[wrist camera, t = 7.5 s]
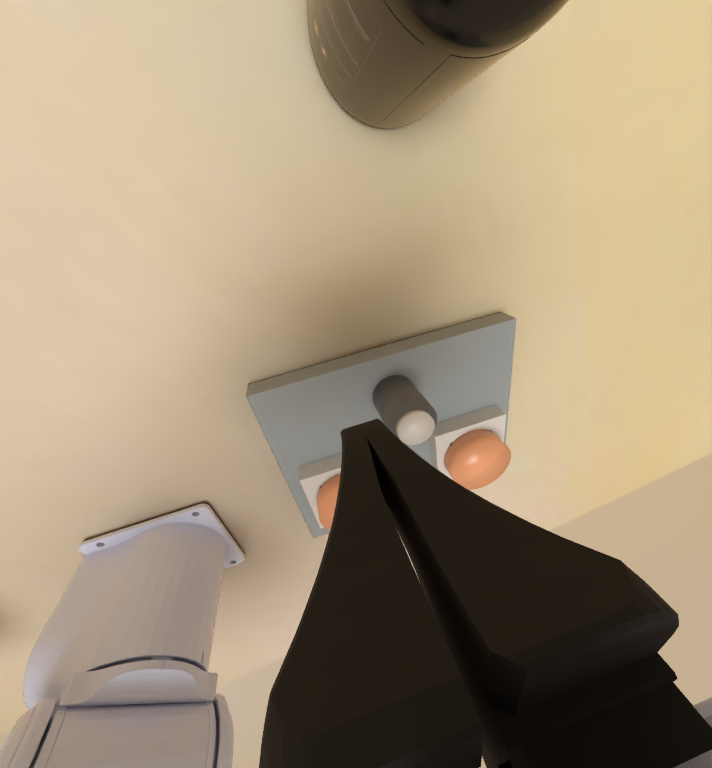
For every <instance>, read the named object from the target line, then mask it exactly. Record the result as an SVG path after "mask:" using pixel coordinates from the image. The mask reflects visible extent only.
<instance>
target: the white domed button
mask: <svg viewBox="0 0 712 768" xmlns="http://www.w3.org/2000/svg"><path fill="white" fill-rule="evenodd" d="M372 399H373V403H374V406H375V407H376V409H377V411H378V413H379V415H380V417H381V419H382V421H383V423H384V424H385V425H386V426H387V427H388V428H389V429H390V430H391V431H392V432H393V433H394V434H395V435H396V436H397V437H398V438H399V439H400V440H401V441H402V442H403V443H405V444H406V445H417V444H420V443H422V442H424V441H426V440H427V439H428V438H429V437H430V436H431V435H432V433H433V431H434V429H435V426H436V424H437V413H436V411H435V409H434V408H433V407H432V406H431V405H430V403H429V402H428V401H427V400H426V399H425V397H424V396H423V395H422V394H421V392H420V391H419V390H418V389H417V388H416V386H415V385H414V384H413V383H412V381H411V380H410V379H409V378H407V377H405V376H402V375H392V376H389V377H387V378H385V379H383V380H382V381H380V382H379V383H378V385H377V386H376V387H375V389H374V391H373V396H372Z"/></svg>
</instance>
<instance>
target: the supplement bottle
mask: <svg viewBox="0 0 712 768" xmlns="http://www.w3.org/2000/svg"><path fill="white" fill-rule="evenodd" d="M567 2H568V0H307V11H308V25H309V33H310V39H311V44H312V48H313V52H314V56H315V59H316V62H317V65H318V68H319V70H320V72H321V75H322V77H323V79H324V81H325V83H326V85H327V87H328V88H329V90H330V91H331V93H332V95H333V96H334V97H335V99H336V100H337V101H338V102H339V104H340V105H341V106H342V107H343V108H344V109H345V110H346V111H347V112H348V113H349V114H351V115H352V116H353V117H355V118H356V119H358V120H360V121H361V122H363V123H366V124H368V125H371V126H374V127H379V128H396V127H400V126H404V125H406V124H409V123H411V122H413V121H415V120H417V119H418V118H420V117H421V116H423V115H424V114H426V113H427V112H429V111H430V110H432V109H433V108H434V107H436V106H437V105H439V104H440V103H441V102H443V101H444V100H445V99H447V98H448V97H449V96H451V95H452V94H453V93H455V92H456V91H458V90H459V89H460V88H462V87H463V86H464V85H466V84H467V83H468V82H470V81H471V80H473V79H474V78H475V77H477V76H478V75H479V74H481V73H482V72H483V71H485V70H486V69H487V68H489V67H490V66H492V65H493V64H494V63H496V62H497V61H498V60H500V59H501V58H502V57H504V56H505V55H507V54H508V53H509V52H511V51H512V50H513V49H515V48H516V47H517V46H519V45H520V44H521V43H523V42H524V41H525V40H527V39H528V38H529V37H530V36H532V35H533V34H534V33H535V32H537V31H538V30H539V29H540V28H541V27H542V26H544V25H545V24H546V23H547V22H548V21H549V20H550V19H551V18H552V17H553V16H554V15H555V14H556V13H557V12H559V11H560V10H561V9H562V7H563V6H564V5H565V4H566V3H567Z"/></svg>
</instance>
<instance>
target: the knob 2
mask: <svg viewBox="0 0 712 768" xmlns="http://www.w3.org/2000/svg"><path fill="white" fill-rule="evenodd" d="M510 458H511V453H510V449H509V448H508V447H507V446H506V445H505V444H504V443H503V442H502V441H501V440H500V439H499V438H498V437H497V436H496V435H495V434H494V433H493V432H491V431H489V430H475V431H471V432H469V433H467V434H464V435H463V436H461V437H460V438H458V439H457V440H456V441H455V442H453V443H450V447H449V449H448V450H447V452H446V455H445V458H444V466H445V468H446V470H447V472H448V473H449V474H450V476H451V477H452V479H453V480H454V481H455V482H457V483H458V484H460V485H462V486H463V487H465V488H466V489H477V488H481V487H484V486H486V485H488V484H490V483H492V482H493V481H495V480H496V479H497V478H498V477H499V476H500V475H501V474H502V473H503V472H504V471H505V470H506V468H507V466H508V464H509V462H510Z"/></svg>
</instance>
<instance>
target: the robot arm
mask: <svg viewBox="0 0 712 768" xmlns="http://www.w3.org/2000/svg"><path fill="white" fill-rule="evenodd" d="M340 434H341V440H342V462H341V473H340V482H339V489H338V495H337V501H336V507H335V512H334V516H333V521H332V525H331V529H330V533H329V537H328V541H327V544H326V548H325V551H324V555H323V558H322V561H321V565H320V568H319V571H318V574H317V577H316V580H315V583H314V586H313V588H312V591H311V594H310V597H309V599H308V602H307V605H306V608H305V610H304V613H303V616H302V618H301V621H300V624H299V626H298V629H297V631H296V634H295V636H294V638H293V641H292V643H291V645H290V648H289V650H288V652H287V655H286V657H285V659H284V662H283V664H282V666H281V669H280V672H279V673H278V676H277V678H276V680H275V683H274V685H273V688H272V690H271V693H270V696H269V701H268V706H267V712H266V718H265V723H264V730H263V738H262V744H261V755H260V763H259V768H479V767H481V758H482V756H483V759H484V762H485V764H486V767H487V768H712V697H711V698H709V699H707V700H705V701H703V702H700V703H698V704H696V705H694V706H693V705H692V704H691V703H690V702H689V700H688V699H687V698H686V697H685V696H684V695H683V693H682V692H681V691H680V690H679V689H678V688H677V686H676V685H675V684H674V683H673V681H675V680H676V679H677V677H676V675H675V672H674V671H673V670H672V669H671V668H670V667H669V665H668V664H667V663H666V662H665V661H664V660H663V659H662V657H661V656H660V655H659V654H658V653H657V652H658V651H659V650H660V648H662V646H663V645H664V644H665V643H666V642H667V640H669V638H670V637H671V636H672V635H673V634H674V632H675V631H676V629H677V628H678V626H679V620H678V614H677V613H676V612H675V611H674V610H673V609H672V608H671V607H670V606H669V605H668V604H667V603H666V602H665V601H664V600H663V599H662V598H661V597H660V596H659V595H658V594H657V593H656V592H655V591H654V590H653V589H652V588H651V587H650V586H649V585H648V584H647V583H646V582H645V581H644V580H642V579H641V578H640V577H639V576H638V575H637V574H635V573H634V572H633V571H632V570H631V569H629V568H628V567H627V566H626V565H625V564H624V563H623V562H622V561H620V560H618V559H616V558H613V557H610V556H608V555H606V554H603V553H600V552H598V551H595V550H593V549H590V548H588V547H585V546H583V545H580V544H578V543H575V542H573V541H570V540H568V539H565V538H563V537H560V536H558V535H556V534H554V533H552V532H549V531H547V530H545V529H543V528H541V527H538V526H536V525H534V524H532V523H530V522H528V521H526V520H524V519H522V518H520V517H518V516H516V515H514V514H512V513H510V512H508V511H506V510H504V509H502V508H500V507H498V506H496V505H494V504H492V503H490V502H489V501H487V500H485V499H483V498H482V497H480V496H478V495H476V494H475V493H473V492H471V491H470V490H468V489H466V488H465V487H463V486H462V485H460V484H458V483H457V482H455V481H454V480H452V479H451V478H449V477H448V476H446V475H445V474H443V473H442V472H440V471H439V470H438V469H436V468H435V467H433V466H432V465H431V464H429V463H428V462H427V461H425V460H424V459H423V458H422V457H420V456H419V455H418V454H417V453H415V452H414V451H413V450H412V449H411V448H409V447H408V446H407V445H406V444H405V443H403V442H402V441H401V440H400V439H399V438H398V437H397V436H396V435H395V434H394V433H393V432H392V431H391V430H390V429H389V428H388V427H387V426H386V425H385V424H384V423H383V422H382V421H381V420H379V419H374V420H371V421H368V422H365V423H361V424H358V425H355V426H352V427H348V428H345V429H343V430H342V431H341V433H340ZM396 528H397V529H396ZM398 533H399V534H398ZM399 535H400V536H399ZM400 537H401V538H400ZM401 539H402V541H403V543H404V545H405V548H406V550H407V552H408V554H409V556H410V559H411V561H412V563H413V566H414V568H415V571H416V573H417V575H416V573H415V571H414V568H413V566H412V564H411V562H410V559H409V557H408V555H407V552H406V550H405V548H404V545H403V543H402V541H401ZM78 549H79V551H80V552H81V553H83V554H84V555H85V557H84V558H83V560H82V562H81V564H80V565H79V567H78V569H77V571H76V573H75V574H74V576H73V578H72V580H71V581H70V583H69V585H68V587H67V588H66V590H65V592H64V594H63V595H62V597H61V599H60V601H59V603H58V604H57V606H56V608H55V610H54V611H53V613H52V615H51V617H50V618H49V620H48V622H47V624H46V625H45V627H44V629H43V631H42V633H41V634H40V636H39V638H38V640H37V641H36V643H35V645H34V648H33V650H32V652H31V655H30V657H29V660H28V664H27V667H26V671H25V677H24V684H23V696H24V701H25V704H26V707H27V709H28V711H27V712H26V713H25V714H23V715H22V716H21V717H20V718H19V719H18V721H17V722H16V724H15V725H14V727H13V729H12V731H11V732H10V734H9V736H8V738H7V739H6V741H5V743H4V745H3V747H2V749H1V750H0V768H232V758H233V740H234V738H233V723H232V717H231V714H230V711H229V708H228V704H227V701H226V700H225V697H224V696H223V695H221V694H215V692H216V685H217V677H218V674H217V673H210V672H208V667H209V660H210V654H211V647H212V641H213V634H214V627H215V621H216V614H217V608H218V601H219V595H220V588H221V581H222V575H223V569H225V568H228V567H231V566H234V565H237V564H240V563H242V562H243V561H244V560H245V555H244V553H243V552H242V551H241V549H240V548H239V546H238V545H237V544H236V542H235V541H234V540H233V538H232V537H231V535H230V534H229V533H228V531H227V530H226V528H225V527H224V526H223V524H222V523H221V521H220V520H219V519H218V517H217V516H216V514H215V513H214V512H213V510H212V509H211V508H210V506H209V505H207V504H199V505H196V506H193V507H190V508H186V509H183V510H180V511H177V512H174V513H171V514H168V515H165V516H161V517H158V518H155V519H152V520H149V521H146V522H143V523H140V524H136V525H133V526H130V527H127V528H124V529H121V530H118V531H115V532H111V533H108V534H105V535H102V536H99V537H96V538H93V539H90V540H86V541H84V542H82V543H81V544H80V546H79V548H78ZM417 576H418V578H417ZM418 579H419V580H418ZM419 581H420V582H419Z"/></svg>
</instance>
